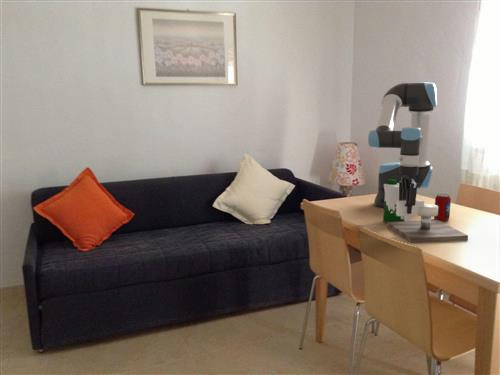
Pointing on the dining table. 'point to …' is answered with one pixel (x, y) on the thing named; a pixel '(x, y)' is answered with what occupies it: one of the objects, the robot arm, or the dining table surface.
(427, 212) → the spoon
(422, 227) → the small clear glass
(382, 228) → the dining table surface
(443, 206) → the beverage can
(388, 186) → the milk carton
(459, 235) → the base plate
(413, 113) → the robot arm
